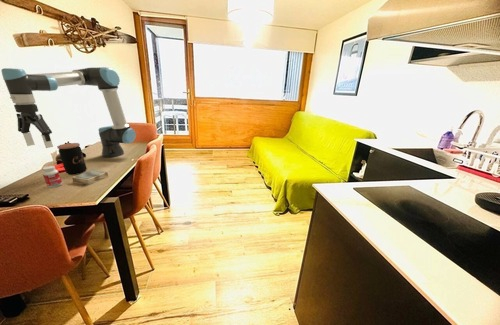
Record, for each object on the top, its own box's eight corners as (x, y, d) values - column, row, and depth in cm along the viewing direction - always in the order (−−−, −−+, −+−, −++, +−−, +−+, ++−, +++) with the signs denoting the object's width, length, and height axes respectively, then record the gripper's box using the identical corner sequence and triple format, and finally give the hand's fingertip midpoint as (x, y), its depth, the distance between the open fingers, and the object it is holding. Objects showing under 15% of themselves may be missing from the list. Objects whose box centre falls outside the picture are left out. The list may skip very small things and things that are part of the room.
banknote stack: (93, 174, 127) (92, 169, 126) (108, 176, 124) (107, 171, 123) (73, 182, 116) (71, 176, 115) (89, 184, 113) (87, 179, 112)
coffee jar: (78, 175, 125) (69, 147, 119) (61, 175, 125) (51, 147, 119) (91, 168, 135) (83, 143, 129) (75, 168, 135) (67, 142, 129)
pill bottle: (51, 189, 108) (44, 170, 104) (45, 187, 110) (37, 168, 106) (65, 184, 113) (58, 166, 110) (58, 182, 116) (52, 164, 112)
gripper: (-3, 103, 96) (14, 146, 103) (33, 105, 90) (48, 150, 97) (17, 102, 103) (32, 142, 110) (52, 104, 97) (65, 146, 104)
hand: (40, 146), depth 104 cm, fingers open, 13 cm apart
